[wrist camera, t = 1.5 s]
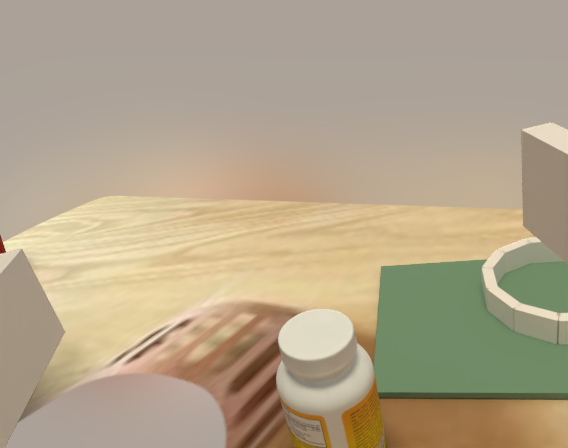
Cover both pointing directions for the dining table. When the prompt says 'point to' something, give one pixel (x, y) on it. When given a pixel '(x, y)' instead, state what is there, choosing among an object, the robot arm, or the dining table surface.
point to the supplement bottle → (328, 384)
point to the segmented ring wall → (509, 309)
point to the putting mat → (466, 334)
